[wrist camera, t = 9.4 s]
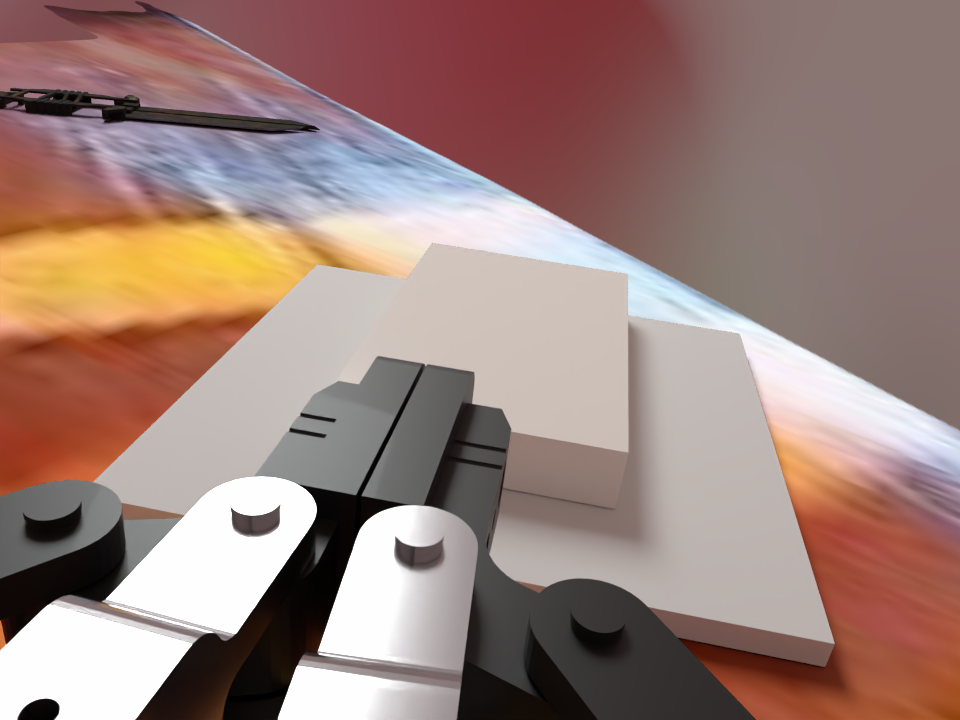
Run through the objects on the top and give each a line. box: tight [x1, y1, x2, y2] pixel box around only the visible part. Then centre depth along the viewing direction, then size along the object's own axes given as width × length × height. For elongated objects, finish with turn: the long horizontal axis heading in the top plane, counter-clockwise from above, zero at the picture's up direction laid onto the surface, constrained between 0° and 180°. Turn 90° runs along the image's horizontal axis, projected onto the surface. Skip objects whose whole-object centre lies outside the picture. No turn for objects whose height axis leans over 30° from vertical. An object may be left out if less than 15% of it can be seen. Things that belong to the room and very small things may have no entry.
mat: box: [93, 265, 835, 667], centre depth 30 cm, size 20×19×1 cm
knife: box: [0, 88, 320, 131], centre depth 66 cm, size 25×6×1 cm, turn 89°
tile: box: [334, 243, 629, 509], centre depth 31 cm, size 9×2×15 cm
